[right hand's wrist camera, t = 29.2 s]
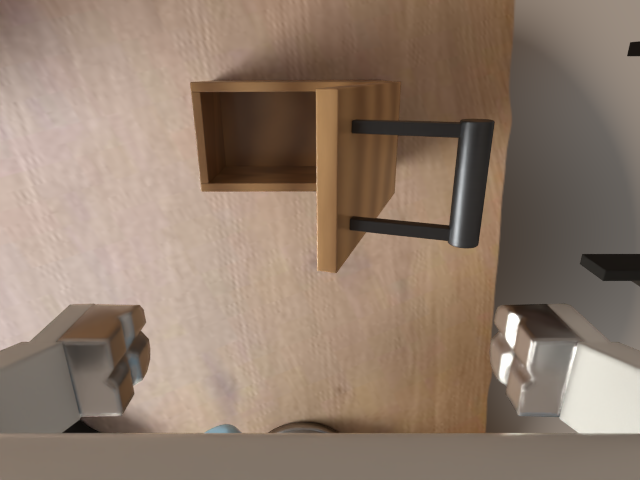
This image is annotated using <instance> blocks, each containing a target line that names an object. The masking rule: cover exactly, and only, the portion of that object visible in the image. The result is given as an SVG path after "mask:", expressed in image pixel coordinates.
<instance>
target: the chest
mask: <svg viewBox="0 0 640 480" xmlns="http://www.w3.org/2000/svg"><path fill="white" fill-rule="evenodd" d="M378 82H392V81H384V80H216V81H201V82H190V85H191V95H192V105H193V115H194V125H195V135H196V144H197V154H198V164H199V174H200V183H201V191H202V192H240V191H317V183H316V89H317V88H326V87H337V86H347V85H357V84H368V83H378Z"/></svg>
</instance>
